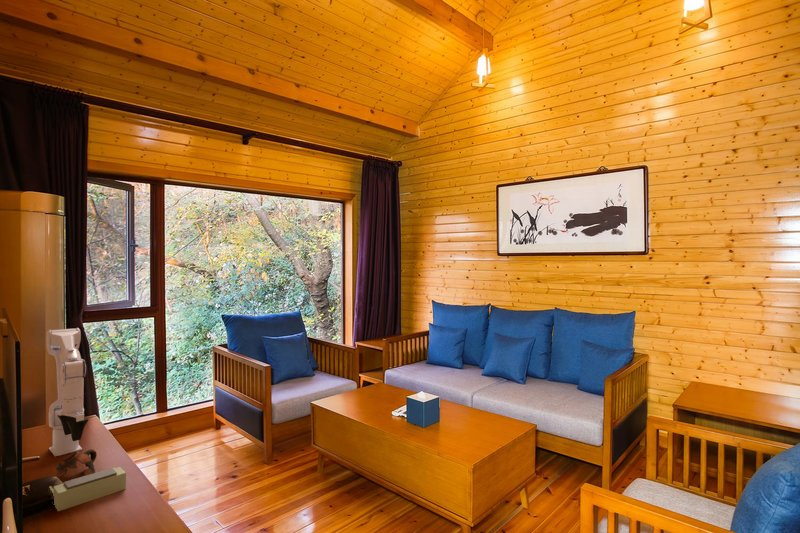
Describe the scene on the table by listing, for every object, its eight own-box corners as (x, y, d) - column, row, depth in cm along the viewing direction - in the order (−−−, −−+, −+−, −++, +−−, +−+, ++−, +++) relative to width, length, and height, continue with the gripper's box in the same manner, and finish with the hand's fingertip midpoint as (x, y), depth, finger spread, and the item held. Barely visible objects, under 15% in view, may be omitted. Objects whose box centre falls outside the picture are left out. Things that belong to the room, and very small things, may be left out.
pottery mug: (83, 484, 139) (67, 463, 137) (60, 494, 140) (44, 474, 139) (110, 457, 150) (95, 438, 148) (89, 467, 152) (74, 448, 150)
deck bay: (48, 496, 130) (49, 477, 130) (114, 476, 143) (114, 459, 142) (58, 511, 123) (58, 491, 123) (125, 489, 135) (125, 470, 135)
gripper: (51, 395, 151) (51, 435, 151) (66, 404, 142) (65, 447, 142) (76, 390, 156) (75, 429, 157) (91, 399, 148) (91, 440, 148)
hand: (72, 437), depth 150 cm, fingers open, 7 cm apart
